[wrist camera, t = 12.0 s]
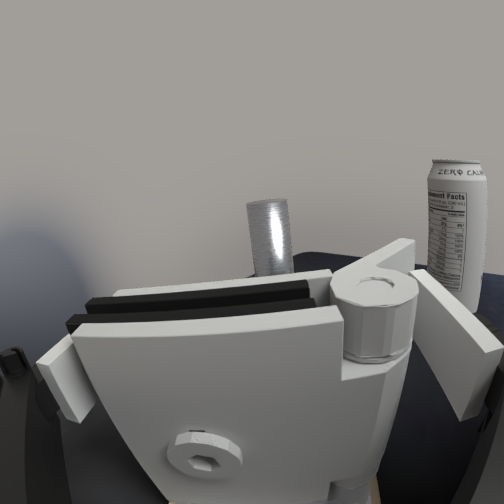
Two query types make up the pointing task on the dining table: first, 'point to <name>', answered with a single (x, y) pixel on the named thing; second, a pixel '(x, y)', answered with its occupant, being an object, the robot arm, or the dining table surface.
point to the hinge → (256, 377)
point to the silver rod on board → (278, 263)
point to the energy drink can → (457, 228)
